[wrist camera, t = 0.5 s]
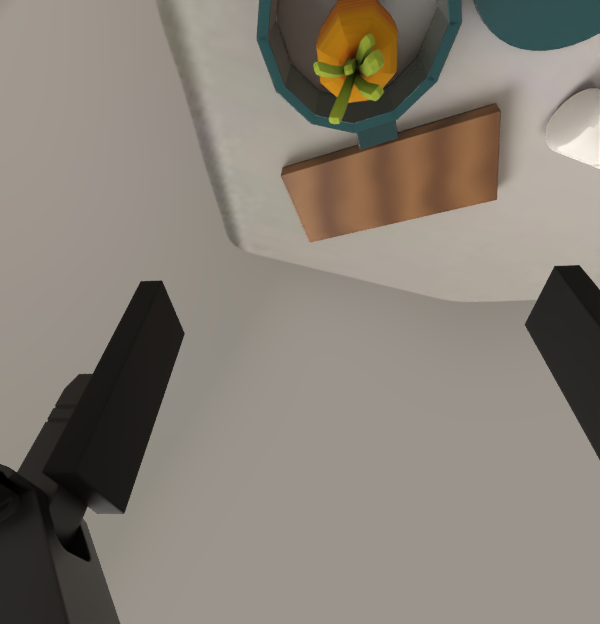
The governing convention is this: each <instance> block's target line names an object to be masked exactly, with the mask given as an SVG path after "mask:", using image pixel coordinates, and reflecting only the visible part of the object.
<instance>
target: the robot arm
mask: <svg viewBox="0 0 600 624" xmlns="http://www.w3.org/2000/svg"><path fill="white" fill-rule="evenodd" d="M525 326H526V328H527V330H528V331H529V333H530V335H531V337H532V339H533V340H534V342H535V344H536V346H537V348H538V349H539V351H540V353H541V355H542V357H543V358H544V360H545V362H546V364H547V366H548V367H549V369H550V371H551V373H552V375H553V376H554V378H555V380H556V382H557V384H558V385H559V387H560V389H561V391H562V392H563V394H564V396H565V398H566V400H567V402H568V403H569V405H570V407H571V409H572V411H573V412H574V414H575V416H576V418H577V420H578V421H579V423H580V425H581V427H582V429H583V430H584V432H585V434H586V436H587V437H588V439H589V441H590V443H591V445H592V447H593V448H594V450H595V452H596V454H597V456H598V458H599V459H600V290H599V288H598V287H597V286H596V285H595V283H594V282H593V281H592V280H591V279H590V277H589V276H588V275H587V274H586V273H585V271H584V270H583V269H582V268H581V267H580V265H573V266H554V268H553V270H552V272H551V274H550V276H549V278H548V280H547V282H546V284H545V286H544V288H543V290H542V292H541V294H540V296H539V298H538V300H537V302H536V304H535V306H534V308H533V310H532V311H531V314H530V315H529V317H528V319H527V321H526V323H525ZM183 337H184V331H183V329H182V326H181V324H180V322H179V319H178V317H177V315H176V312H175V310H174V308H173V305H172V303H171V301H170V299H169V296H168V294H167V291H166V289H165V286H164V284H163V282H162V281H141V282H140V284H139V286H138V288H137V290H136V292H135V294H134V296H133V298H132V299H131V301H130V303H129V305H128V307H127V309H126V311H125V313H124V315H123V317H122V319H121V321H120V323H119V324H118V326H117V328H116V330H115V332H114V334H113V336H112V338H111V340H110V342H109V344H108V346H107V348H106V349H105V351H104V353H103V355H102V357H101V359H100V361H99V363H98V365H97V367H96V369H95V371H94V373H93V374H79V375H78V376H77V377H76V378H75V379H74V380H73V381H72V382H71V383H70V384H69V385H68V386H67V387H66V388H65V389H64V391H63V392H62V394H61V396H60V398H59V400H58V401H57V403H56V407H55V408H54V409H53V410H52V412H51V414H50V416H49V417H48V422H45V424H44V426H43V428H42V429H41V431H40V433H39V435H38V437H37V438H36V440H35V442H34V444H33V446H32V447H31V449H30V451H29V453H28V454H27V456H26V458H25V460H24V461H23V463H22V465H21V467H20V468H19V470H18V472H15V471H14V470H12V469H11V468H9V467H7V466H4V465H1V464H0V624H120V622H119V619H118V616H117V613H116V610H115V607H114V604H113V601H112V598H111V595H110V592H109V589H108V586H107V583H106V580H105V577H104V574H103V571H102V568H101V565H100V562H99V559H98V556H97V553H96V550H95V547H94V544H93V542H92V538H91V535H90V533H89V529H88V527H87V523H86V522H85V521H84V519H83V516H84V514H85V511H86V509H87V506H88V507H89V508H90V509H92V510H93V511H95V512H96V513H97V514H100V513H101V514H124V513H125V510H126V507H127V504H128V501H129V498H130V495H131V492H132V489H133V486H134V483H135V480H136V477H137V474H138V471H139V468H140V465H141V462H142V459H143V456H144V453H145V450H146V447H147V444H148V441H149V438H150V435H151V432H152V429H153V426H154V423H155V420H156V417H157V414H158V411H159V408H160V406H161V403H162V399H163V397H164V394H165V391H166V388H167V384H168V382H169V378H170V376H171V373H172V370H173V367H174V364H175V361H176V358H177V355H178V352H179V349H180V346H181V343H182V340H183Z"/></svg>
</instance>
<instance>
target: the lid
mask: <svg viewBox="0 0 600 624" xmlns="http://www.w3.org/2000/svg"><path fill="white" fill-rule="evenodd" d="M473 1H474V4H475V6H476V9H477V11H478V13H479V15H480V17H481V19H482V21H483V22H484V23H485V24H486V26H487V27H488V28H489V29H490V31H491V32H492V33H493V34H495V35H496V36H497V37H498V38H499V39H500V40H502V41H504V42H506V43H507V44H509V45H511V46H514V47H517V48H520V49H526V50H532V51H546V50H553V49H559V48H563V47H567V46H571V45H574V44H576V43H579V42H582V41H584V40H587V39H589V38H591V37H593V36H595V35H597V34H599V33H600V0H473Z"/></svg>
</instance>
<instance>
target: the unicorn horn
mask: <svg viewBox="0 0 600 624" xmlns="http://www.w3.org/2000/svg"><path fill="white" fill-rule="evenodd" d="M545 133H546V143H547V145H548V146H549V147H550V149H551V150H553V151H555V152H557V153H560V154H562V155H565V156H568V157H570V158H573V159H575V160H578V161H580V162H583V163H585V164H589V165H591V166H593V167H595V168H598V169H600V89H595V88H589V89H586V90H584V91H581V92H579V93H577V94H575V95H573V96H572V97H571V98H569V99H568V100H566V101H565V102H564V103H563V104H562V105H561V106H560V107H559V108H558V109H557V110H556V112H555V113H554V114H553V116H552V117H551V119H550V121H549V122H548V125H547V128H546V132H545Z"/></svg>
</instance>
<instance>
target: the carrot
mask: <svg viewBox="0 0 600 624" xmlns="http://www.w3.org/2000/svg"><path fill="white" fill-rule="evenodd" d="M316 47H317V56H318V61H316V62H315V63H314V65H313V66H314V71H315V73H316V75H319V76H320V83H321V84H322V85H323V86H325V87H326V88H327V89H328V90H329V91H330V92H332V93H333V94H334V95H335V96H336V97H337V99H336V101H335V103H334V106H333V108H332V110H331V113H330V116H329V122H330V123H332V124H340V122H341V120H342V118H343V116H344V113H345V111H346V108H347V105H348V103H351V102H359V101H366V100H373V101H377V100H378V99H379V98H380V97H381V96H382V94H383V93H384V90H383V88H384V86H385V85H386V84H387V83H388V82H389V80H390V79H391V78H392V77H393V76H394V74H395V73H396V72H397V48H398V29H397V27H396V24H395V22H394V20H393V18H392V16H391V15H390V14H389V12H388V11H387V10H386V9H385V8H384V7H383V6H382V5H381V4H380V3H379V2H378V1H377V0H338V1H337V3H336V5H335V6H334V8H333V9H332V11H331V12H330V14H329V16H328V17H327V19H326V20H325V22H324V23H323V25H322V27H321V29H320V32H319V35H318V39H317V43H316Z"/></svg>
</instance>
